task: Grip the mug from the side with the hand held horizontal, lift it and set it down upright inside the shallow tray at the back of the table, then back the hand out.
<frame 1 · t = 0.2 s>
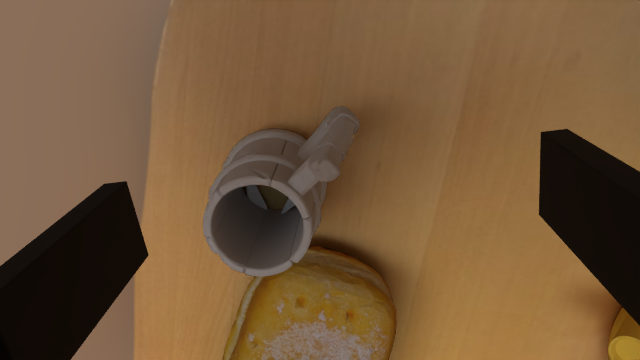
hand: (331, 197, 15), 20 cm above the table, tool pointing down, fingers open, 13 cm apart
mug: (296, 154, 36), on the table
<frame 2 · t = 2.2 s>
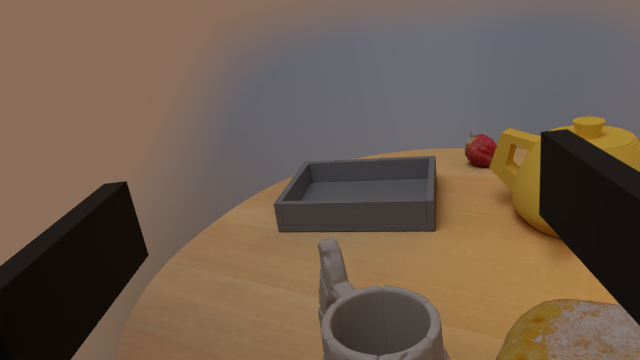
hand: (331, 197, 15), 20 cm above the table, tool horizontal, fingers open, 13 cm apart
teapot: (576, 226, 51), on the table
tray: (362, 205, 63), on the table
fruit: (484, 166, 71), on the table
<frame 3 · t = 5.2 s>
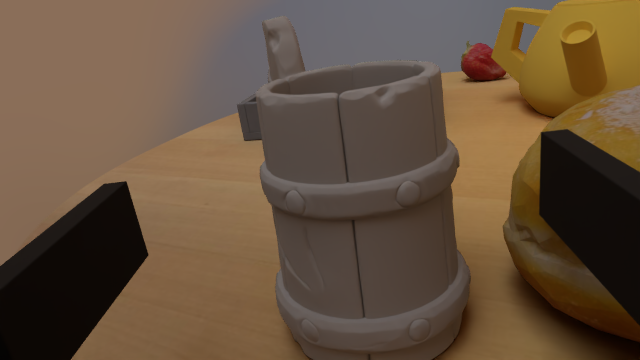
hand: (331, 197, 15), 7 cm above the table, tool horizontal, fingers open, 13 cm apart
mug: (350, 295, 22), on the table
teapot: (598, 111, 43), on the table
tray: (344, 115, 54), on the table
fruit: (483, 81, 62), on the table
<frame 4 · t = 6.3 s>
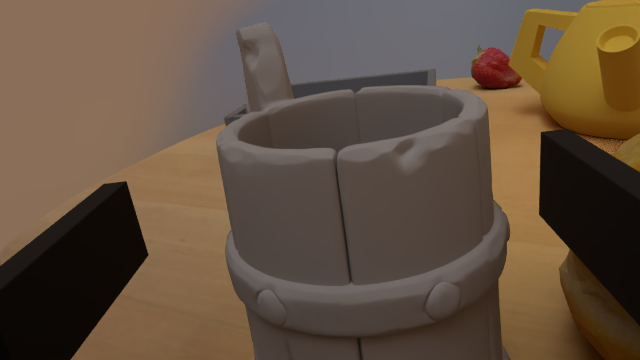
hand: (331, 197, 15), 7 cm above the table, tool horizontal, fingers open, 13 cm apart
teapot: (632, 127, 38), on the table
tray: (343, 128, 49), on the table
fruit: (495, 89, 57), on the table
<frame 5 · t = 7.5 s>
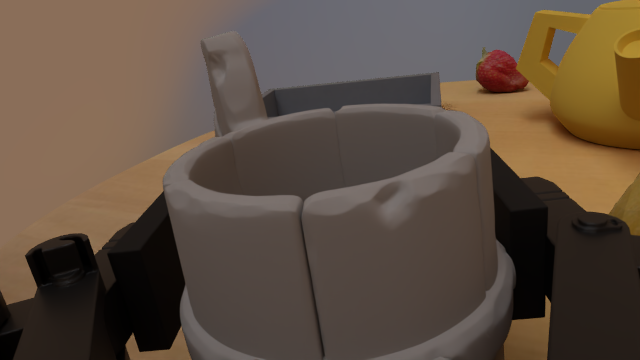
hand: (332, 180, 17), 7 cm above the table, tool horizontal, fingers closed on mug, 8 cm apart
tray: (343, 133, 47), on the table
fruit: (500, 92, 55), on the table
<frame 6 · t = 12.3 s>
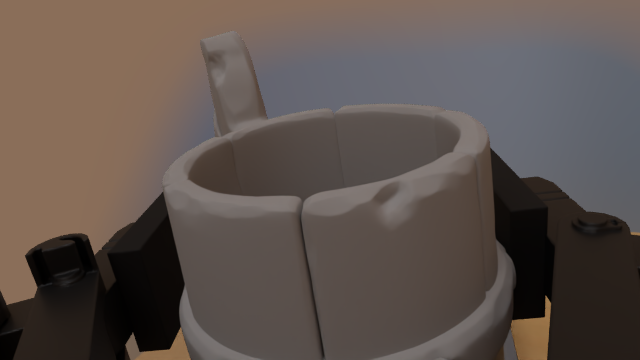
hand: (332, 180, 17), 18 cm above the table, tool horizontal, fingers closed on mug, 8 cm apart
when the fingers open (7 cm above the table, at t = 17.5 s): mug stays where it is, resting on tray.
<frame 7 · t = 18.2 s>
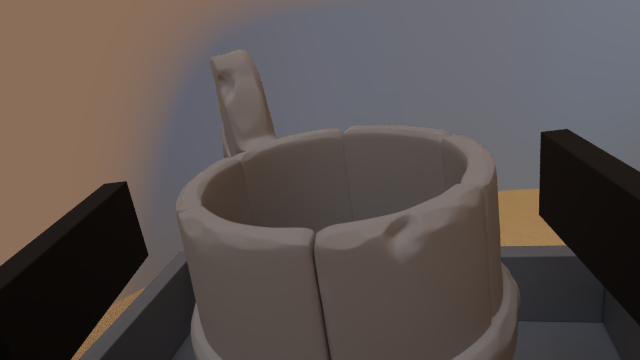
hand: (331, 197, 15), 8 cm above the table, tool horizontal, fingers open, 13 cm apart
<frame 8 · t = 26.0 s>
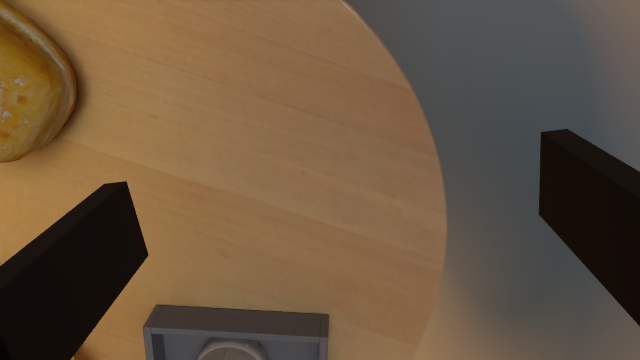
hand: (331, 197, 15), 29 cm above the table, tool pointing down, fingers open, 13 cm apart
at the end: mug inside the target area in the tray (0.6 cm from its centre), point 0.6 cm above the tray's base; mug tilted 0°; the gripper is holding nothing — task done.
